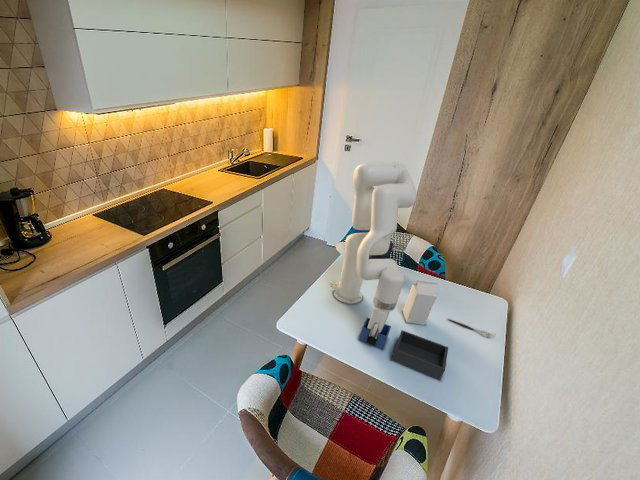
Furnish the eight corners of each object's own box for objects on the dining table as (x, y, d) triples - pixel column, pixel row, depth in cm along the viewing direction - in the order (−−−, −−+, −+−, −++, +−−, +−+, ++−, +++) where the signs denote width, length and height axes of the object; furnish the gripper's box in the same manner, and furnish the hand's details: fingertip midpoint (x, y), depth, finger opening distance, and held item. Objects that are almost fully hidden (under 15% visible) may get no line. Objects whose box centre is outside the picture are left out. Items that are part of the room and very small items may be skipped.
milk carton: (424, 325, 130) (440, 287, 120) (406, 322, 132) (420, 285, 121) (419, 314, 136) (434, 277, 126) (402, 311, 137) (415, 275, 127)
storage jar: (383, 275, 161) (391, 249, 153) (364, 269, 166) (370, 244, 158) (387, 266, 169) (395, 241, 161) (368, 261, 173) (375, 236, 165)
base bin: (391, 360, 115) (395, 349, 112) (397, 340, 123) (401, 329, 120) (439, 380, 108) (445, 370, 105) (443, 357, 116) (448, 347, 113)
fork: (448, 318, 134) (450, 315, 133) (493, 337, 125) (496, 333, 124) (447, 322, 133) (449, 318, 132) (492, 340, 124) (495, 336, 123)
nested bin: (358, 340, 123) (362, 327, 120) (363, 329, 128) (367, 317, 125) (382, 349, 119) (387, 337, 116) (387, 338, 124) (391, 326, 120)
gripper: (379, 286, 121) (369, 321, 131) (367, 310, 109) (357, 347, 119) (400, 292, 118) (388, 328, 127) (390, 319, 106) (377, 356, 115)
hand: (373, 337), depth 123 cm, fingers closed on nested bin, 7 cm apart
